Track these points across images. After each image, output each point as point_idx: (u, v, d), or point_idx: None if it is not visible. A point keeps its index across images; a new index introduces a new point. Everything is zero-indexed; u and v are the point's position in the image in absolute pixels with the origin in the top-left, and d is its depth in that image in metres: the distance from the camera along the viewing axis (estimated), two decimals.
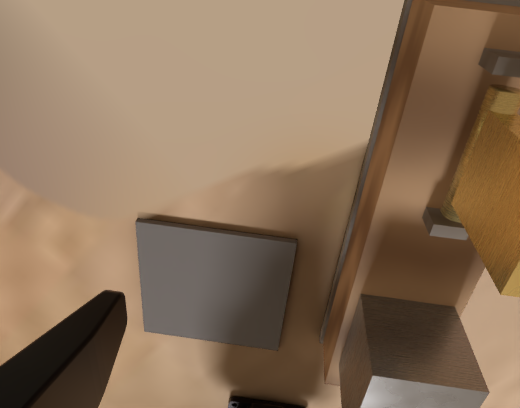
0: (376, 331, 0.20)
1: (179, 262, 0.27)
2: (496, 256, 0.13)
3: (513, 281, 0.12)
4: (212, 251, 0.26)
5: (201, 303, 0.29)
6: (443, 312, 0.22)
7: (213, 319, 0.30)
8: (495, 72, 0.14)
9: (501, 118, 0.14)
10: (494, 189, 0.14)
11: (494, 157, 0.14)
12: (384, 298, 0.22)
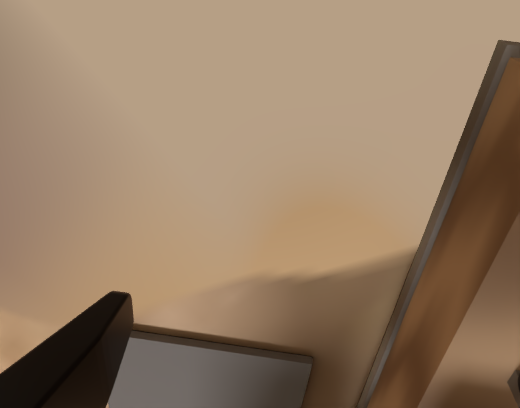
0: None
1: (156, 378, 0.21)
2: None
3: None
4: (199, 368, 0.20)
5: None
6: None
7: None
8: None
9: None
10: None
11: None
12: None
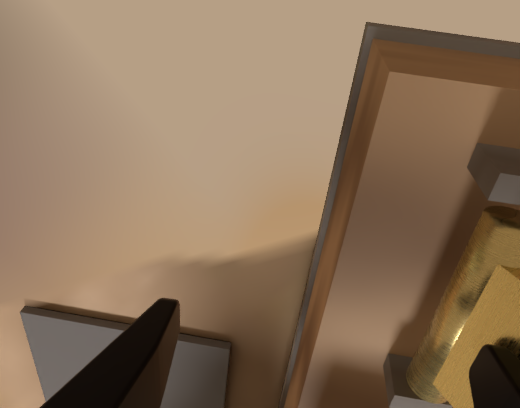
0: None
1: (83, 360, 0.21)
2: None
3: None
4: None
5: None
6: None
7: None
8: (494, 197, 0.08)
9: None
10: None
11: None
12: None
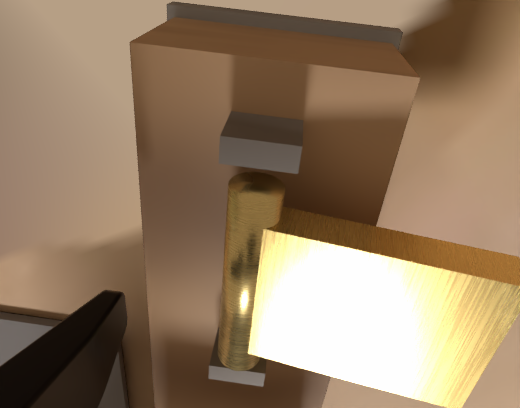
0: None
1: None
2: (424, 382, 0.10)
3: (467, 391, 0.10)
4: (14, 341, 0.20)
5: None
6: None
7: None
8: (223, 160, 0.08)
9: (302, 233, 0.09)
10: (364, 320, 0.09)
11: (334, 286, 0.09)
12: None
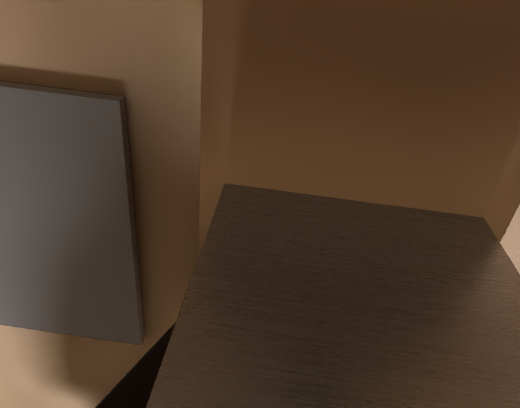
0: (228, 272, 0.06)
1: None
2: None
3: None
4: None
5: None
6: (452, 228, 0.08)
7: (8, 284, 0.16)
8: None
9: None
10: None
11: None
12: (288, 197, 0.08)
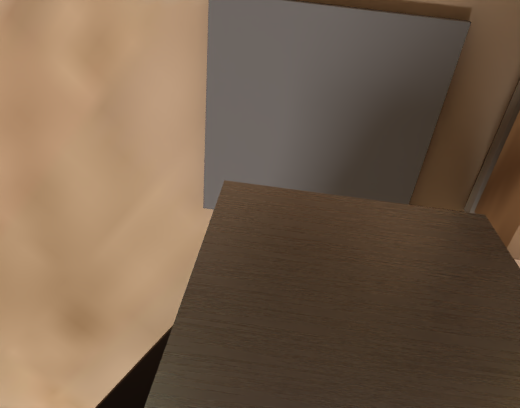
0: (228, 268, 0.06)
1: (271, 73, 0.18)
2: None
3: None
4: (327, 47, 0.17)
5: (295, 151, 0.19)
6: (453, 225, 0.07)
7: (309, 180, 0.20)
8: None
9: None
10: None
11: None
12: (288, 194, 0.08)
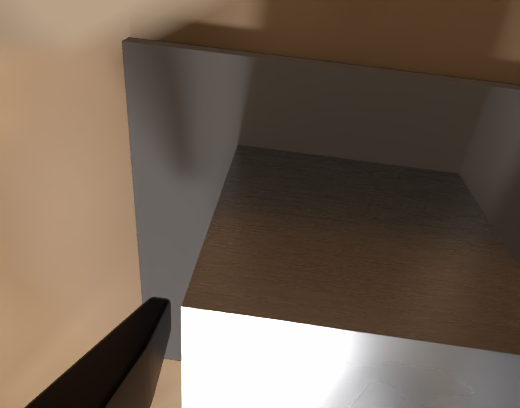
0: (244, 206, 0.07)
1: None
2: None
3: None
4: (343, 139, 0.09)
5: None
6: (430, 181, 0.09)
7: None
8: None
9: None
10: None
11: None
12: (292, 156, 0.10)
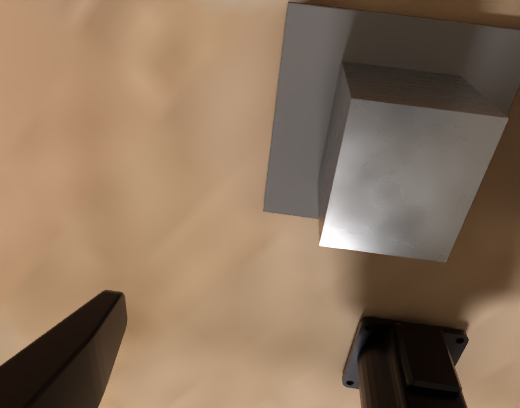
0: (359, 78, 0.16)
1: None
2: None
3: None
4: (399, 56, 0.17)
5: None
6: (446, 77, 0.17)
7: None
8: None
9: None
10: None
11: None
12: (370, 67, 0.18)
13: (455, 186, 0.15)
